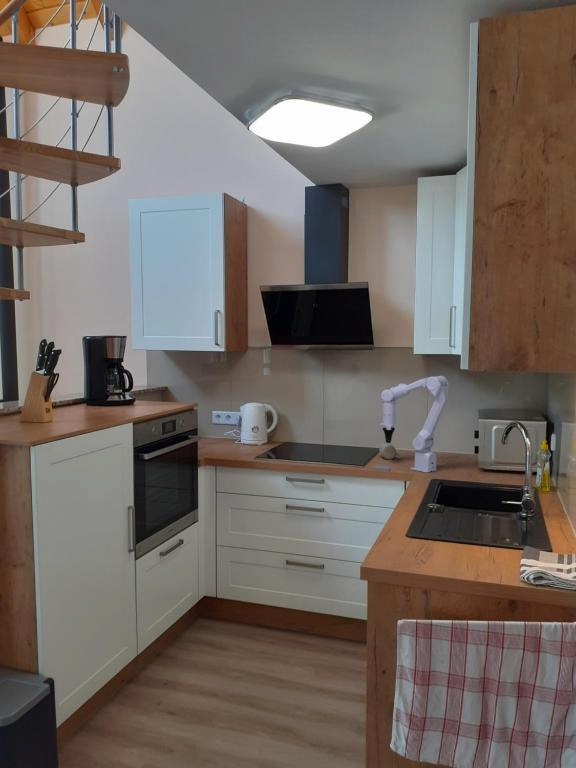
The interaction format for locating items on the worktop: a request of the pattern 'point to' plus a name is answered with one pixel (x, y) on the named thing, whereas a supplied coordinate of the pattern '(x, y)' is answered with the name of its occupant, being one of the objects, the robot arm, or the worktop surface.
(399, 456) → the ceramic mug
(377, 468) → the tile
